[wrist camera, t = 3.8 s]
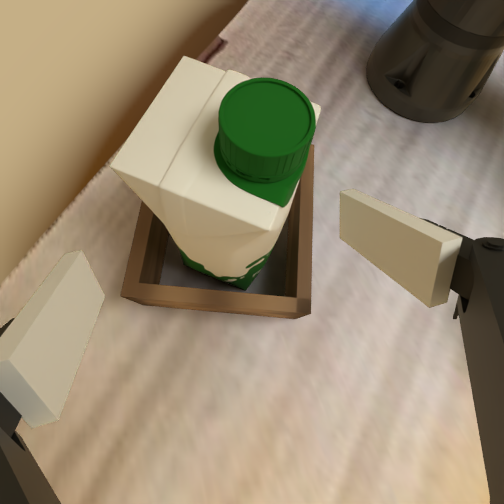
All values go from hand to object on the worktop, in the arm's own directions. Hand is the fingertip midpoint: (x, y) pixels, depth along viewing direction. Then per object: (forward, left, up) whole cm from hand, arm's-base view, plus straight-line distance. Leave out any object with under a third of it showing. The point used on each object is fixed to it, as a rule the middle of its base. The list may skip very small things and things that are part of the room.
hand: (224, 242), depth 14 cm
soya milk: (+1, -5, -16) cm, 16 cm away
